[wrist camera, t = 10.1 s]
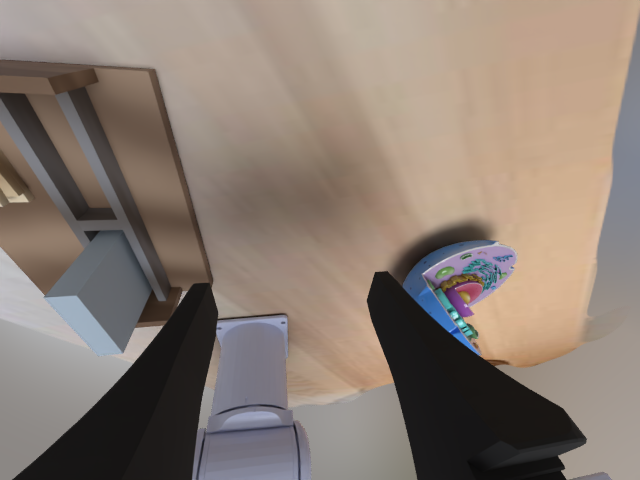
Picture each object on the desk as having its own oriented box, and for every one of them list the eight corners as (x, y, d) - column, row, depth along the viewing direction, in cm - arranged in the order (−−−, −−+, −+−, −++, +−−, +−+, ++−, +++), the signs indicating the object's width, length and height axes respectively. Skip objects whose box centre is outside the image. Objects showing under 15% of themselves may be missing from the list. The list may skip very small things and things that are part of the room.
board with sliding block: (213, 281, 25) (203, 321, 21) (56, 290, 22) (18, 337, 19) (154, 69, 14) (117, 81, 11) (-150, 50, 12) (-322, 57, 8)
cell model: (501, 252, 29) (581, 329, 21) (408, 305, 32) (448, 386, 25) (474, 197, 23) (569, 274, 16) (365, 268, 27) (401, 358, 20)
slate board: (156, 281, 22) (123, 353, 17) (136, 282, 22) (97, 355, 17) (128, 224, 18) (76, 295, 13) (105, 224, 18) (43, 297, 13)
